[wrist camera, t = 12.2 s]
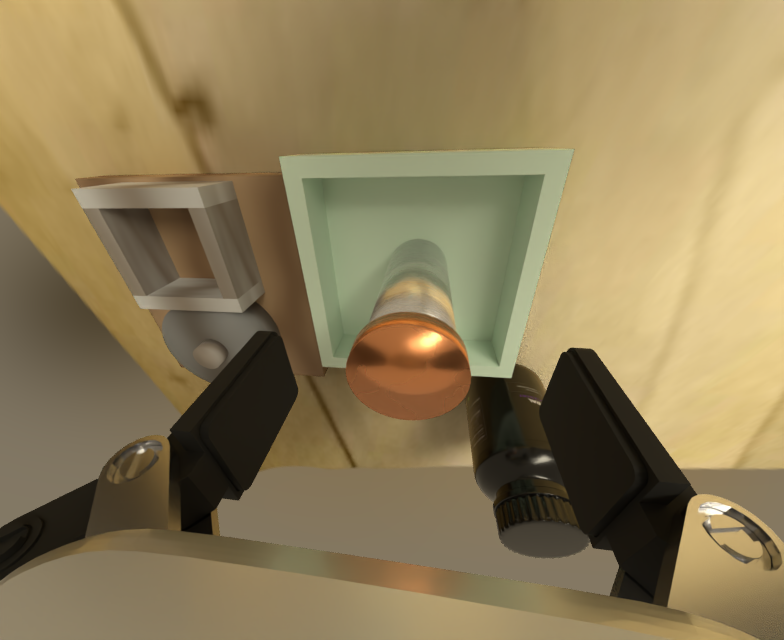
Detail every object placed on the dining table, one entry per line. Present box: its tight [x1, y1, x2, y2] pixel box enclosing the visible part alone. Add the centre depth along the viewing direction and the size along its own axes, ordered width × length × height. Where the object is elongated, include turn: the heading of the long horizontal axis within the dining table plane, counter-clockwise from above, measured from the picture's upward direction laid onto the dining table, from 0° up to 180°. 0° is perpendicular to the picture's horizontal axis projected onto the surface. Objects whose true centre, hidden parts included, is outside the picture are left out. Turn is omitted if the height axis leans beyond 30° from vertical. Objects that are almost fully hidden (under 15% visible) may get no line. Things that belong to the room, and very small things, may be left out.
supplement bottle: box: [465, 364, 590, 558], centre depth 21 cm, size 7×7×12 cm
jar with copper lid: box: [346, 239, 471, 420], centre depth 15 cm, size 5×5×11 cm
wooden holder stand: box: [71, 172, 328, 382], centre depth 21 cm, size 14×16×6 cm
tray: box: [279, 148, 574, 378], centre depth 19 cm, size 14×14×4 cm
